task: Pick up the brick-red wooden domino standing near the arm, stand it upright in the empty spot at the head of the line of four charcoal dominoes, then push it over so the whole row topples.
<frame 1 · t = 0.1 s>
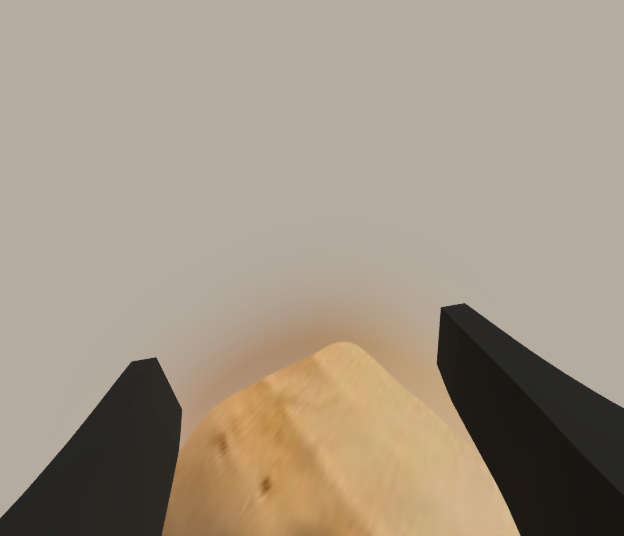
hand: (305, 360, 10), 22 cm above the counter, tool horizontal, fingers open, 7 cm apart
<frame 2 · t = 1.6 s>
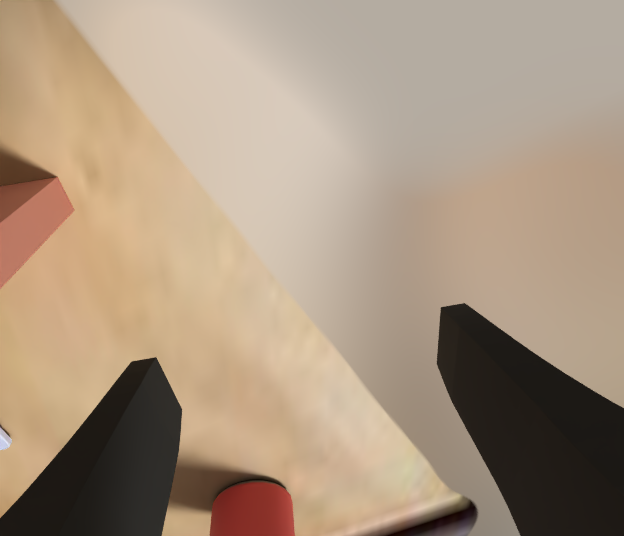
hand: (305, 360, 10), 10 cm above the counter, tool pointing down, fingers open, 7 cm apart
red domino: (9, 203, 17), on the counter
beer can: (252, 495, 33), on the counter
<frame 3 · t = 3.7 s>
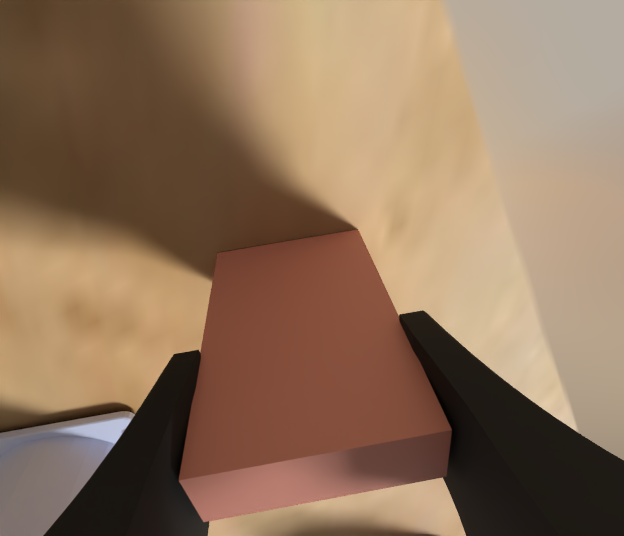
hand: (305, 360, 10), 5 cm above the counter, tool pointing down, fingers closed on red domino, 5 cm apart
red domino: (291, 260, 14), on the counter, touching gripper
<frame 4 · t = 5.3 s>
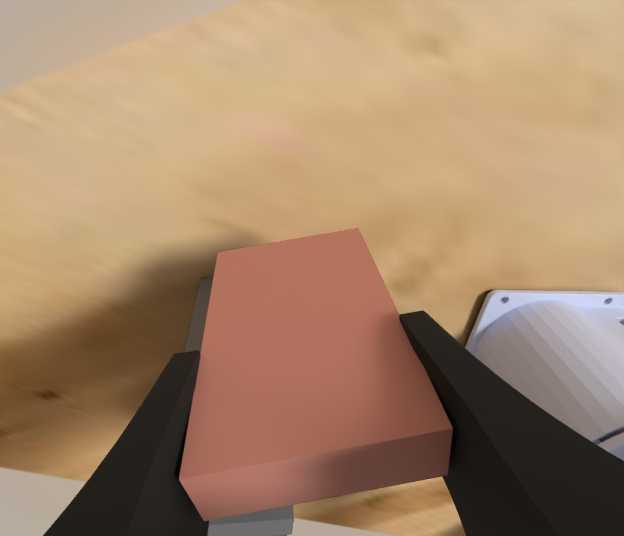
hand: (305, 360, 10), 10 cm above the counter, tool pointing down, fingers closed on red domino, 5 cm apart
domino 2: (248, 290, 21), on the counter
red domino: (291, 259, 14), point 6 cm above the counter, touching gripper
domino 4: (247, 399, 26), on the counter
when the fingers open (5 cm above the counter, at t = 7.2 s): red domino stays where it is, on the counter.
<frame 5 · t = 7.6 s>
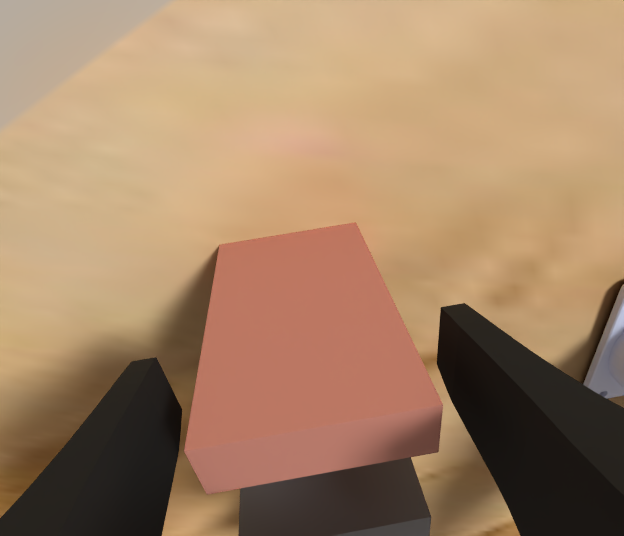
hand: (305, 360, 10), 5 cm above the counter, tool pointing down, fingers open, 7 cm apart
domino 2: (306, 339, 17), on the counter
red domino: (291, 252, 15), on the counter
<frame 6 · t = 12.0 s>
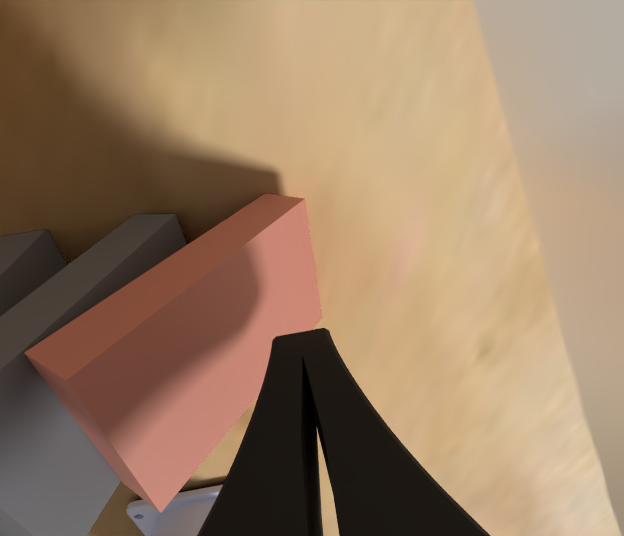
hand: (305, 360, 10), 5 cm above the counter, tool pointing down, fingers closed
domino 2: (178, 275, 14), on the counter, tilted 20°
domino 3: (59, 292, 14), on the counter
red domino: (295, 259, 14), on the counter, tilted 39°
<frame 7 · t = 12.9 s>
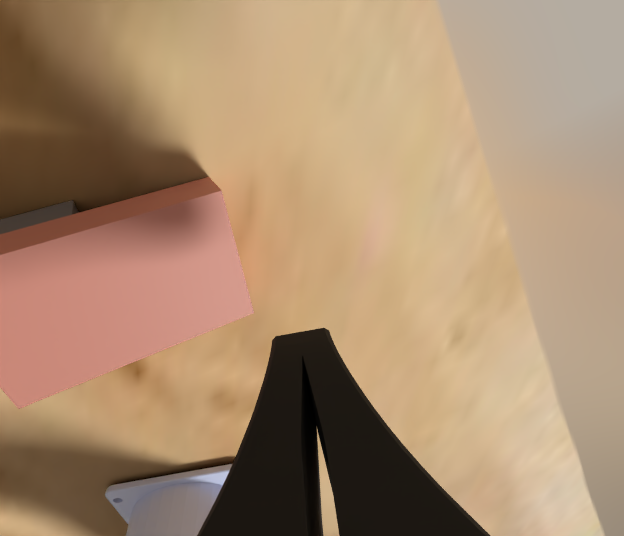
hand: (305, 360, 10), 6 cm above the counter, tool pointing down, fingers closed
domino 2: (104, 271, 14), point 1 cm above the counter, tilted 69°, touching red domino
red domino: (232, 248, 14), point 1 cm above the counter, tilted 70°, touching domino 2
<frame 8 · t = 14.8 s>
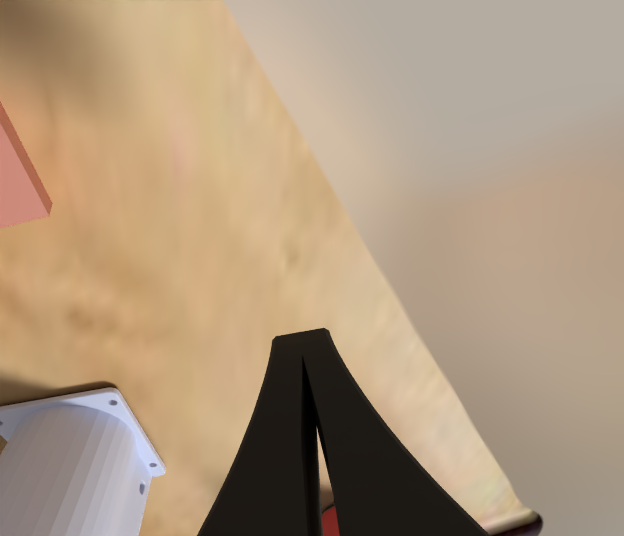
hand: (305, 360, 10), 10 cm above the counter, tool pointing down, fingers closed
red domino: (21, 152, 16), point 1 cm above the counter, tilted 71°, touching domino 2
beer can: (350, 511, 37), on the counter
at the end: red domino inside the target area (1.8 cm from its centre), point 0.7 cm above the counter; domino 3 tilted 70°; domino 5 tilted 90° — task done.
